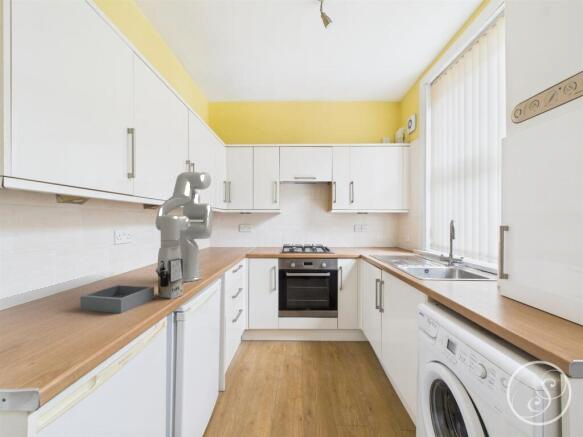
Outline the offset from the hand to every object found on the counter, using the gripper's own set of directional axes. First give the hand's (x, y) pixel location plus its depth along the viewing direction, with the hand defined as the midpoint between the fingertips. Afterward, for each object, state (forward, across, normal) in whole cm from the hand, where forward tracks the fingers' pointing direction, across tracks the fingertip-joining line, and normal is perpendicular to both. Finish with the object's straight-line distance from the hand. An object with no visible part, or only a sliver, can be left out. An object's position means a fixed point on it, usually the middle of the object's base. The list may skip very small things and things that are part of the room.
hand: (170, 283), depth 108 cm
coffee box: (+5, 0, 0) cm, 5 cm away
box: (+5, +13, -13) cm, 19 cm away
